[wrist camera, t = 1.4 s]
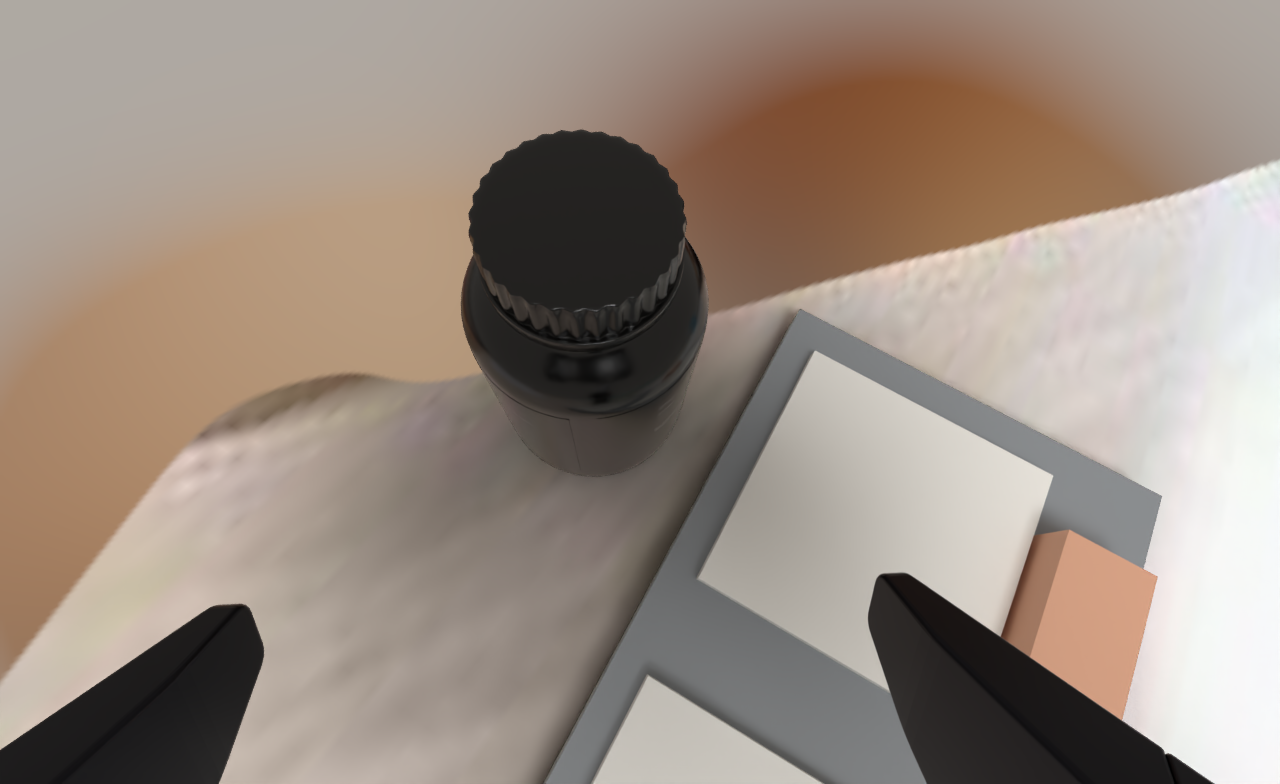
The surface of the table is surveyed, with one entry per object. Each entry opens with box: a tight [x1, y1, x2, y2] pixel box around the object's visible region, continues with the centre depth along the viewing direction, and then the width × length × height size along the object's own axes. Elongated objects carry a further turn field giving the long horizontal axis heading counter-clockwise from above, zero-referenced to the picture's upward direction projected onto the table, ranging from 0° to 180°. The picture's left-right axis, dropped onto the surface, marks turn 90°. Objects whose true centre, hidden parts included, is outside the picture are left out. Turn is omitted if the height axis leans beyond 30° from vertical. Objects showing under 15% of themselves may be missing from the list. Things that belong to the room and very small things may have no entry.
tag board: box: [543, 309, 1162, 784], centre depth 19 cm, size 15×26×4 cm, turn 150°
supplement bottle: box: [461, 130, 709, 476], centre depth 19 cm, size 7×7×12 cm
